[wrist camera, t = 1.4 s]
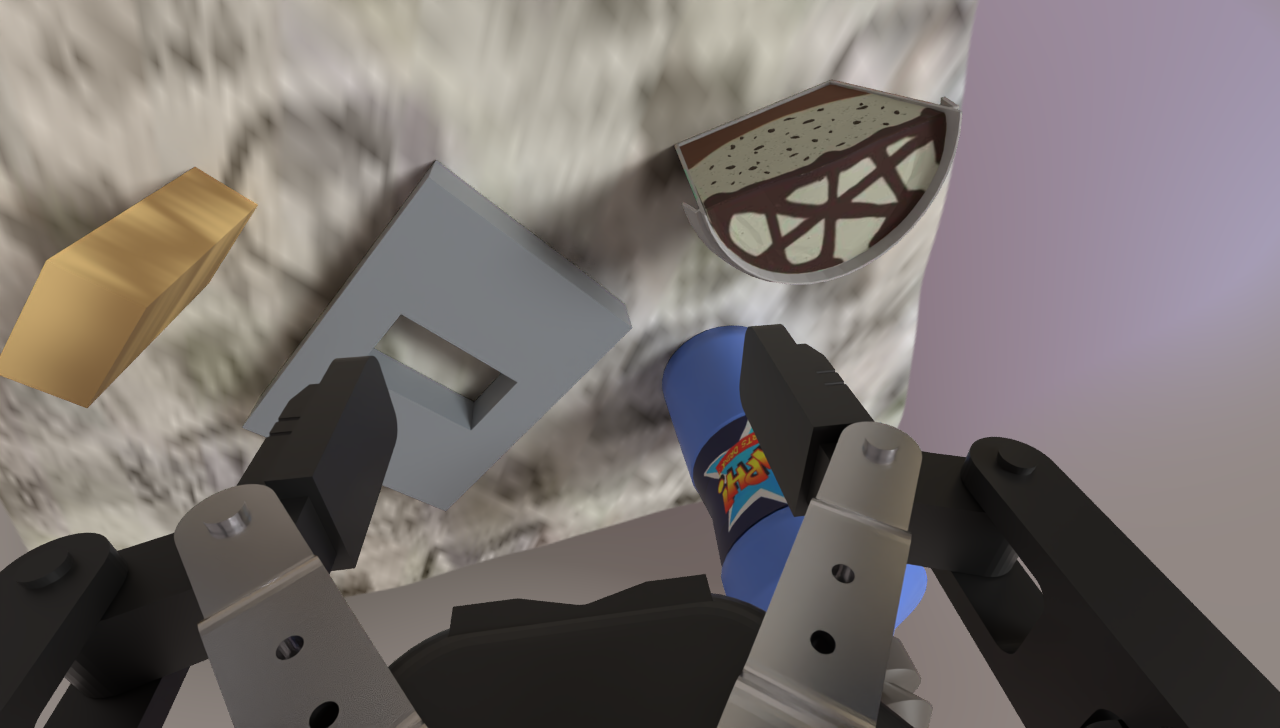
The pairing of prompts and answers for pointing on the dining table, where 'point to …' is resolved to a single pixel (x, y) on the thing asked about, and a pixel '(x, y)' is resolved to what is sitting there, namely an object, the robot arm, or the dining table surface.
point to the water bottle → (757, 494)
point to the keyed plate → (458, 333)
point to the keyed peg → (122, 287)
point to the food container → (818, 180)
